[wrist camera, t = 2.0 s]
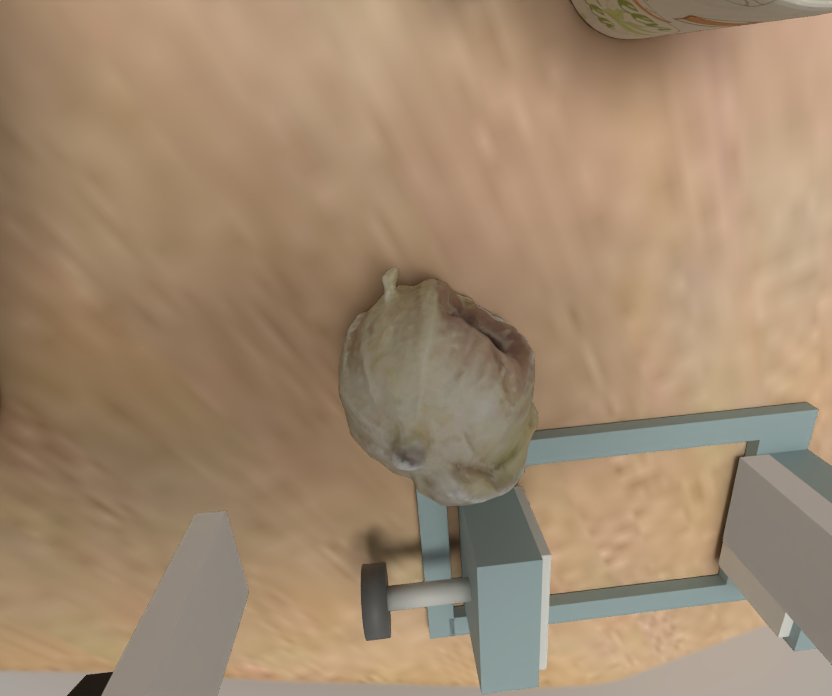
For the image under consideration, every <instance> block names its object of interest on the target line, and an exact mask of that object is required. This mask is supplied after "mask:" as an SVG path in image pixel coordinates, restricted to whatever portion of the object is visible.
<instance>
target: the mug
mask: <svg viewBox="0 0 832 696" xmlns="http://www.w3.org/2000/svg"><path fill="white" fill-rule="evenodd" d="M571 1H572V3H573V5H574V7H575V8H576V10H577V11H578V13H579V14H580V15H581V17H582V18H583V19H584V20H585V21H586V22H587V23H588V24H589V25H590V26H592V27H593V28H594V29H596V30H597V31H599V32H601V33H603V34H605V35H607V36H611V37H614V38H619V39H641V38H649V37H657V36H664V35H672V34H679V33H687V32H695V31H702V30H710V29H717V28H725V27H732V26H740V25H748V24H755V23H763V22H770V21H778V20H785V19H793V18H801V17H808V16H816V15H821V14H826V13H831V12H832V0H571Z"/></svg>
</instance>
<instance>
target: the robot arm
mask: <svg viewBox="0 0 832 696" xmlns="http://www.w3.org/2000/svg"><path fill="white" fill-rule="evenodd" d="M723 541H724V542H725V544H726V545H727V546H728V547H729V548H730V549H731V550H732V552H733V553H734V554H735V555H736V556H737V557H738V558H739V560H740V561H741V562H742V563H743V564H744V565H745V566H746V568H747V569H748V570H749V571H750V572H751V573H752V574H753V576H754V577H755V578H756V579H757V580H758V581H759V582H760V584H761V585H762V586H763V587H764V588H765V589H766V590H767V592H768V593H769V594H770V595H771V596H772V597H773V598H774V600H775V601H776V602H777V603H778V604H779V605H780V606H781V607H782V609H783V610H784V611H785V612H786V613H787V614H788V615H789V617H790V618H791V619H792V620H793V621H794V622H795V623H796V625H797V626H798V627H799V628H800V629H801V630H802V631H803V633H804V634H805V635H806V636H807V637H808V638H809V639H810V641H811V642H812V643H813V644H814V645H815V646H816V647H817V649H818V650H819V651H820V652H821V653H822V654H823V655H824V657H825V658H826V659H827V660H828V661H829V662H830V663H831V665H832V503H830V502H829V501H828V500H827V499H825V498H824V497H823V496H822V495H820V494H819V493H818V492H816V491H815V490H814V489H813V488H811V487H810V486H809V485H807V484H806V483H805V482H804V481H802V480H801V479H800V478H798V477H797V476H796V475H795V474H793V473H792V472H791V471H790V470H788V469H787V468H786V467H784V466H783V465H782V464H781V463H779V462H778V461H777V460H775V459H774V458H773V457H772V456H770V455H769V454H767V455H757V456H748V457H740V459H739V464H738V469H737V473H736V478H735V483H734V488H733V492H732V497H731V502H730V507H729V512H728V516H727V521H726V526H725V531H724V535H723ZM248 594H249V590H248V586H247V583H246V579H245V575H244V572H243V568H242V565H241V561H240V558H239V554H238V550H237V547H236V543H235V540H234V536H233V533H232V529H231V526H230V522H229V518H228V515H227V511H219V512H209V513H200V514H195V516H194V517H193V519H192V521H191V523H190V525H189V527H188V529H187V531H186V533H185V535H184V537H183V539H182V541H181V543H180V545H179V546H178V548H177V550H176V552H175V554H174V556H173V558H172V560H171V562H170V564H169V566H168V568H167V570H166V572H165V574H164V575H163V577H162V579H161V581H160V583H159V585H158V587H157V589H156V591H155V593H154V595H153V597H152V599H151V601H150V602H149V604H148V606H147V608H146V610H145V612H144V614H143V616H142V618H141V620H140V622H139V624H138V626H137V628H136V630H135V631H134V633H133V635H132V637H131V639H130V641H129V643H128V645H127V647H126V649H125V651H124V653H123V655H122V657H121V659H120V660H119V662H118V664H117V666H116V668H115V670H114V672H108V673H99V674H90V675H86V676H85V677H84V678H83V679H82V680H81V681H80V682H79V684H77V686H76V687H75V688H74V689H73V690H72V691H71V692H70V693H69V694H68V695H67V696H218V693H219V689H220V686H221V683H222V680H223V676H224V673H225V670H226V666H227V663H228V660H229V657H230V653H231V650H232V647H233V643H234V640H235V637H236V633H237V630H238V627H239V624H240V620H241V617H242V614H243V610H244V607H245V604H246V601H247V597H248Z"/></svg>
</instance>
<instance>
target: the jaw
mask: <svg viewBox="0 0 832 696" xmlns="http://www.w3.org/2000/svg"><path fill="white" fill-rule="evenodd" d="M458 510H459V529H460V548H461V567H462V577H460V578H451V579H443V580H434V581H426V582H417V583H409V584H401V585H392V586H388V576H387V569H386V563H385V562H379V563H370V564H363V565H362V569H361V605H362V619H363V628H364V634H365V638H366V641H369V640H377V639H386V638H390V637H391V615H390V611H396V610H404V609H413V608H421V607H429V606H438V605H446V604H454V603H462V602H464V606H465V611H466V616H467V621H468V626H469V631H470V637H471V642H472V647H473V652H474V657H475V663H476V668H477V673H478V678H479V683H480V689H481V693H482V694H488V693H496V692H504V691H512V690H520V689H527V688H535V687H539V670H543V669H546V668H547V644H548V619H549V595H550V571H551V553H550V551H549V548H548V546H547V544H546V541H545V539H544V537H543V535H542V532H541V530H540V528H539V525H538V523H537V521H536V518H535V516H534V514H533V511H532V509H531V507H530V504H529V502H528V500H527V497H526V495H525V493H524V490H523V488H522V486H517V487H513V488H512V489H511V490H510V491H509V492H508V493H505V494H503V495H501V496H497V497H495V498H492V499H490V500H487V501H485V502H481V503H476V504H471V505H463V506H458Z"/></svg>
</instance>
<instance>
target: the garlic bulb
mask: <svg viewBox="0 0 832 696" xmlns="http://www.w3.org/2000/svg"><path fill="white" fill-rule="evenodd" d="M398 275H399V271H398V268H396V267H393V268H391V269H389V270H388V271H386V272H385V274H384V275H383V278H382V283H383V286H384V293H383V295H382V296H381V297H380V299H379V300H378V301H377V302H376V304H375V305H374V306H373V307H371V308H370V309H369V311H368V312H362V313H360V314H358V315H357V317H356V318H355V320H354V321H353V322H352V324H351V326H350V327H349V329H348V332H347V335H346V338H345V342H344V346H343V350H342V354H341V357H340V362H339V395H340V398H341V401H342V404H343V407H344V410H345V414H346V419H347V423H348V426H349V430H350V433H351V435H352V437H353V438H354V439H355V441H356V442H357V443H358V444H359V445H360V446H361V447H362V448H363V449H364V451H365V452H366V453H367V454H368V455H369V456H370V457H372V458H374V459H376V460H377V461H379V462H380V463H382V464H383V465H384V466H385V467H387V468H388V469H389V470H390V471H392V472H393V473H396V474H398V475H402V476H405V477H409V478H411V479H412V480H413V481H414V482H415V486H416V489H417V490H418V492H419V493H421V494H422V495H424V496H426V497H428V498H430V499H432V500H433V501H435V502H436V503H438V504H439V505H442V506H463V505H471V504H476V503H481V502H485V501H487V500H490V499H492V498H495V497H497V496H501V495H503V494H505V493H508V492H509V491H510V490H511V489H512V488H513V487H514V486H515V485H516V484H517V482H518V481H519V479H520V478H521V476H522V475H523V473H524V472H525V466H526V461H527V457H528V447H529V444H530V441H531V438H532V436H533V434H534V432H535V430H536V427H537V423H538V412H537V410H536V408H535V406H534V404H533V402H532V396H533V389H534V376H535V359H534V353H533V351H532V349H531V348H530V346H529V344H528V341H527V340H526V338H524V337H523V336H522V335H521V334H520V333H518V331H517V330H516V329H515V328H514V327H513V326H511V325H508V324H505V323H504V320H502V319H501V318H499V317H497V316H493V315H492V314H490V313H489V312H488V311H487V310H486V309H484V308H482V307H480V306H476V305H475V303H474V301H473V300H472V299H471V298H469V297H464V296H462V295H459V294H456V293H455V292H454V291H453V290H452V289H451V288H450V287H449V285H448V284H447V283H445V282H441V281H438V280H436V279H431V278H430V279H426V280H425V281H423V282H421V283H420V284H418V285H415V286H406V285H399V286H397V287H396V283H397V280H398Z"/></svg>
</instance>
